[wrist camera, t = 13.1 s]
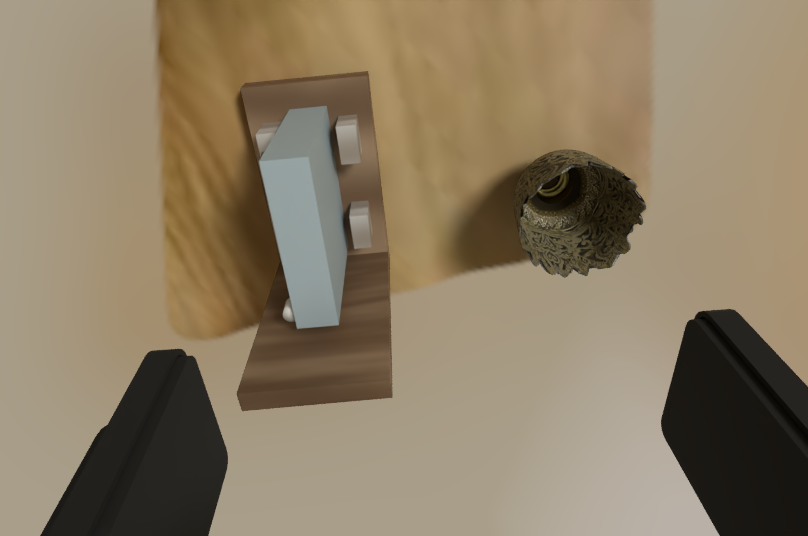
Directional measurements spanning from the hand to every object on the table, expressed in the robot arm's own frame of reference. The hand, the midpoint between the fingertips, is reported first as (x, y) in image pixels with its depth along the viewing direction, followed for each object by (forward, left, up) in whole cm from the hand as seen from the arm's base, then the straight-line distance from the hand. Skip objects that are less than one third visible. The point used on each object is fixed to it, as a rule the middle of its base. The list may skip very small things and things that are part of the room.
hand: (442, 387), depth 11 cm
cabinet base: (+6, -6, -29) cm, 30 cm away
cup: (+8, +10, -29) cm, 32 cm away
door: (+6, -6, -28) cm, 29 cm away
